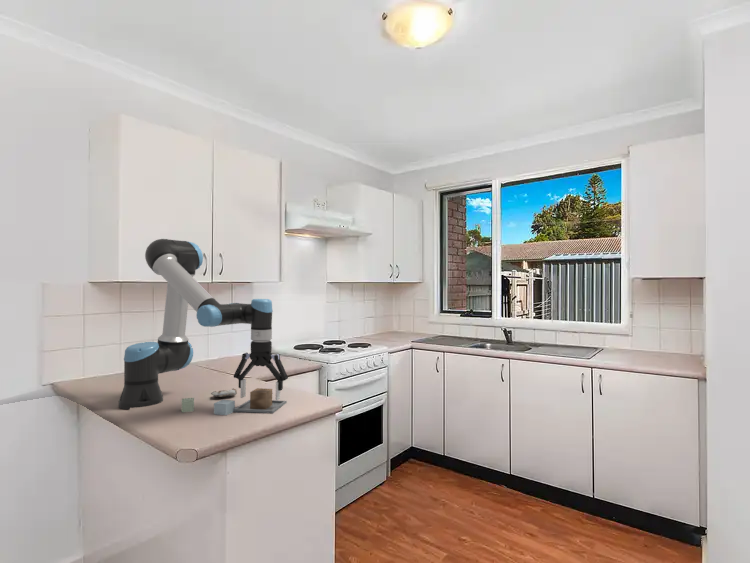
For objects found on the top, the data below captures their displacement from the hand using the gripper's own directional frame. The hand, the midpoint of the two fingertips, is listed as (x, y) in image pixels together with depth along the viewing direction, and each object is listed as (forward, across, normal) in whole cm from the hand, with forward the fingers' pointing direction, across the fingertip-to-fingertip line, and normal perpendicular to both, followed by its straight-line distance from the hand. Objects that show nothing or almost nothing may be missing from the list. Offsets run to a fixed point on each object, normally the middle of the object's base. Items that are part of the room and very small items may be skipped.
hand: (260, 398), depth 162 cm
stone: (+4, -17, +11) cm, 21 cm away
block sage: (+4, -25, -7) cm, 26 cm away
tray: (+4, 0, 0) cm, 4 cm away
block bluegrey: (+4, -10, -8) cm, 13 cm away
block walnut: (+3, 0, 0) cm, 3 cm away
